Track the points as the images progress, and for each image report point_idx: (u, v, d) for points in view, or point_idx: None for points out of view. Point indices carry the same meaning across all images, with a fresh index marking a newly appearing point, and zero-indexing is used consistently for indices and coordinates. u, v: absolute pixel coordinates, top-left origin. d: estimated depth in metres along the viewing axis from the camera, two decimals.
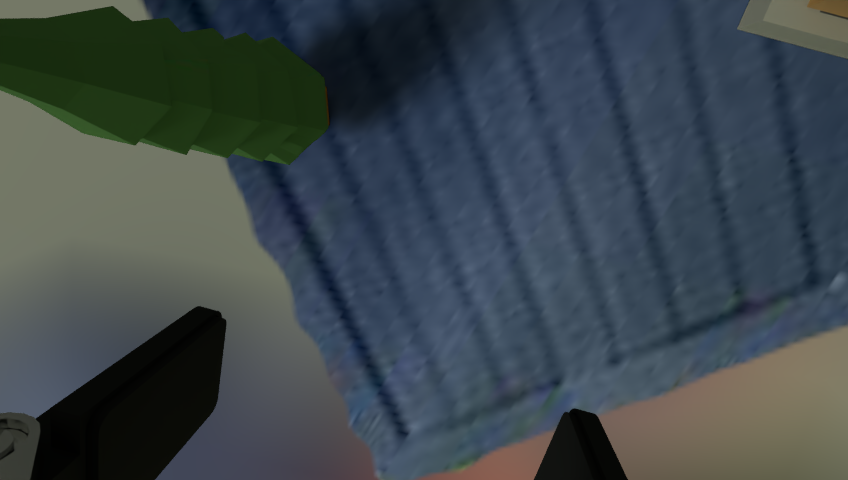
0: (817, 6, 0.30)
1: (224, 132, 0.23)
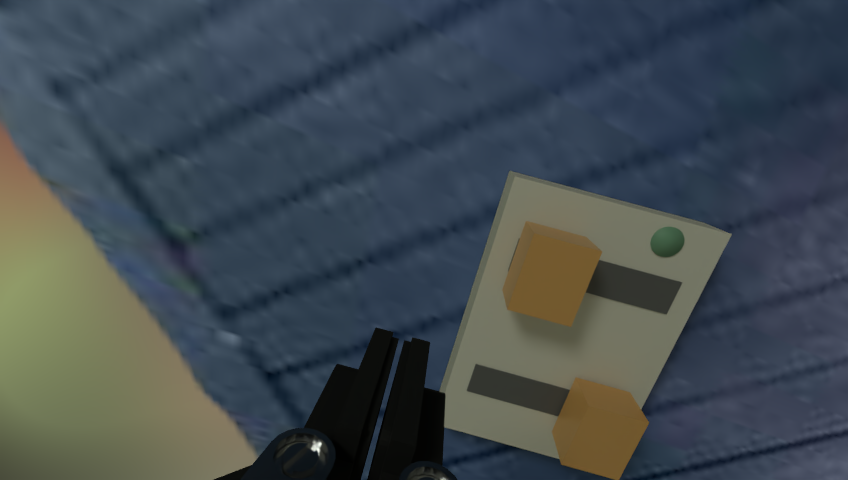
0: (524, 229, 0.25)
1: None
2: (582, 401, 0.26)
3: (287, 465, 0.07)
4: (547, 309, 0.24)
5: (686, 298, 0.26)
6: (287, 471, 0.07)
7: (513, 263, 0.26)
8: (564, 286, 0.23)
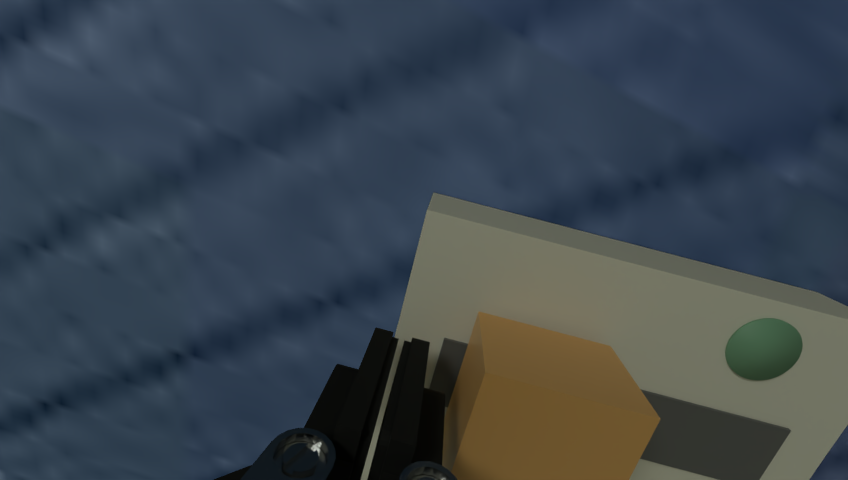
0: (474, 331, 0.11)
1: None
2: None
3: (287, 465, 0.07)
4: None
5: (796, 459, 0.12)
6: (287, 471, 0.07)
7: (453, 401, 0.12)
8: None
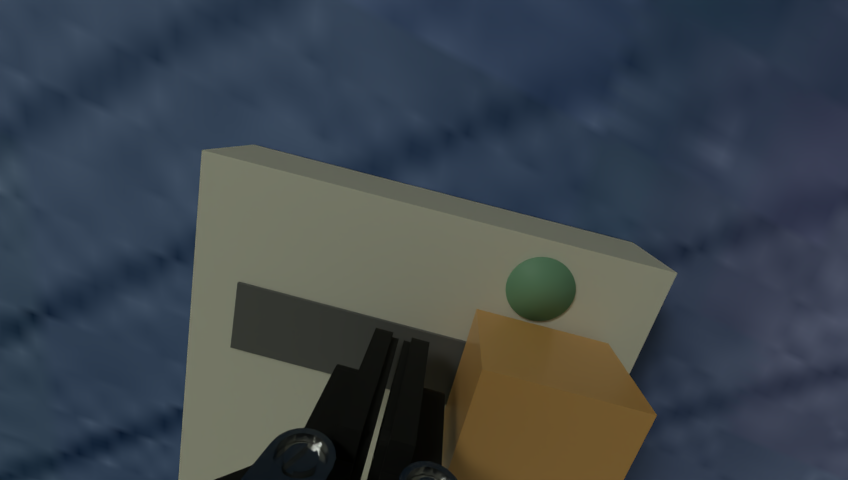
0: (472, 329, 0.11)
1: None
2: None
3: (287, 465, 0.07)
4: None
5: None
6: (287, 471, 0.07)
7: (452, 398, 0.12)
8: None
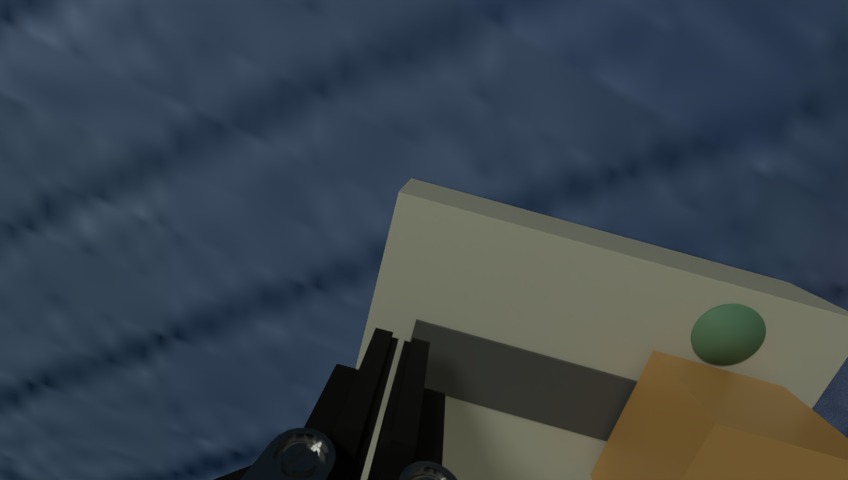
0: (652, 370, 0.12)
1: None
2: None
3: (287, 465, 0.07)
4: None
5: None
6: (287, 471, 0.07)
7: (623, 437, 0.12)
8: None
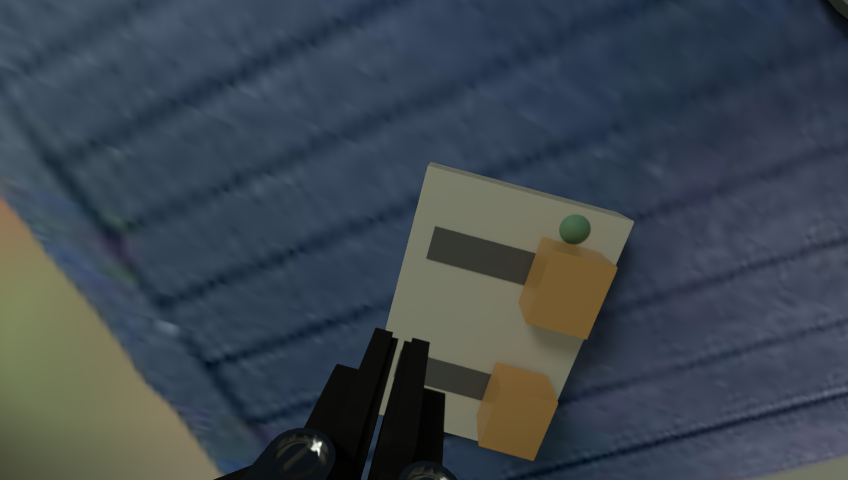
0: (541, 244, 0.26)
1: None
2: (497, 384, 0.27)
3: (287, 465, 0.07)
4: (564, 322, 0.25)
5: None
6: (287, 471, 0.07)
7: (529, 277, 0.26)
8: (580, 300, 0.24)
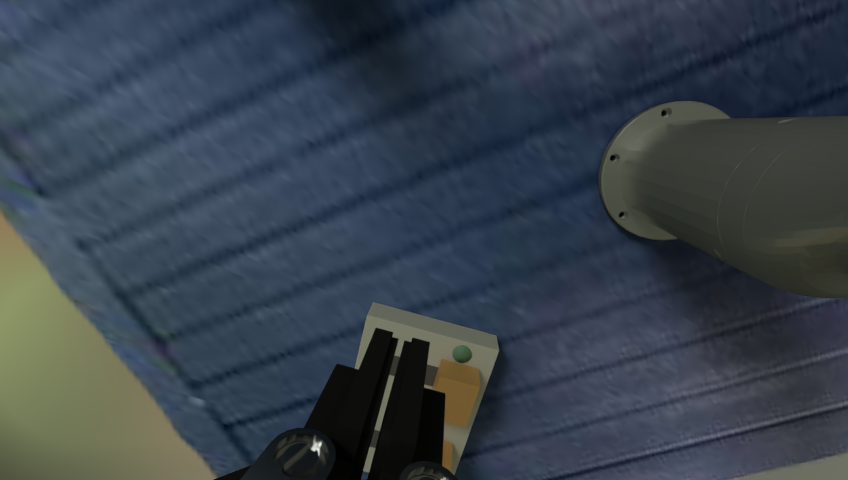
0: (440, 364, 0.41)
1: None
2: None
3: (287, 465, 0.07)
4: (451, 417, 0.39)
5: None
6: (287, 471, 0.07)
7: (434, 384, 0.41)
8: (459, 405, 0.39)
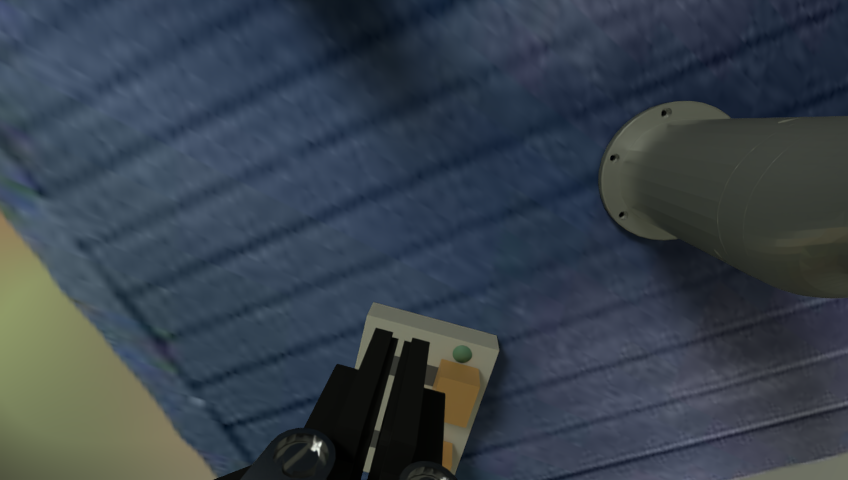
0: (440, 364, 0.41)
1: None
2: None
3: (287, 465, 0.07)
4: (451, 417, 0.39)
5: None
6: (287, 471, 0.07)
7: (434, 384, 0.41)
8: (459, 405, 0.39)
